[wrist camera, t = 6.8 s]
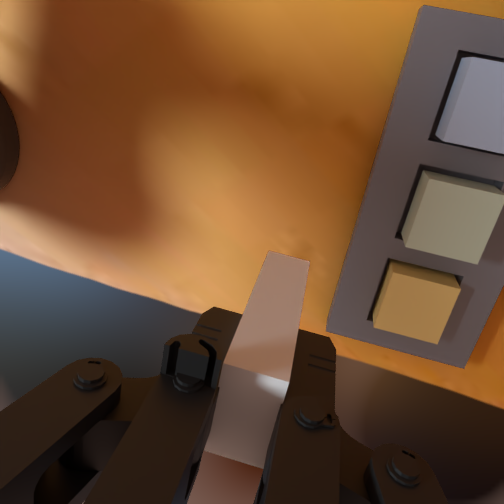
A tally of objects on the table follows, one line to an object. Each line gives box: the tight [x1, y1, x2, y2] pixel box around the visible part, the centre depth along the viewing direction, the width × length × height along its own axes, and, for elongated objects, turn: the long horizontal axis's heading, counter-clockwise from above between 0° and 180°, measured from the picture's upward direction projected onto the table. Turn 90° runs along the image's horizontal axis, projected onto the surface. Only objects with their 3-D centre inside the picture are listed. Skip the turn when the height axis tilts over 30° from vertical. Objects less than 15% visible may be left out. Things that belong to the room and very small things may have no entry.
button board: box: [326, 5, 504, 369], centre depth 40 cm, size 14×30×2 cm, turn 169°
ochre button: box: [372, 258, 461, 344], centre depth 42 cm, size 6×6×4 cm
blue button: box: [435, 57, 504, 154], centre depth 34 cm, size 6×6×4 cm
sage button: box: [401, 170, 504, 265], centre depth 38 cm, size 6×6×4 cm
